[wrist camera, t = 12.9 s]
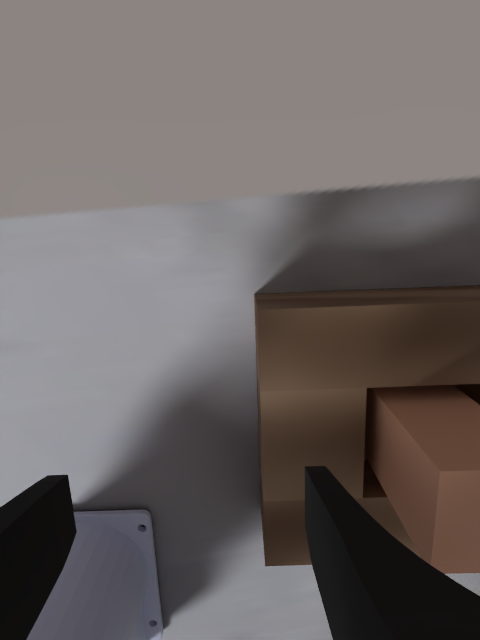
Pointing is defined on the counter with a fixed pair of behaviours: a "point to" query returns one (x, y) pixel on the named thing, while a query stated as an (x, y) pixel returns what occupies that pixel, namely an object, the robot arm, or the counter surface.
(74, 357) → the counter surface
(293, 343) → the socket block
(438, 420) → the peg
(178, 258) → the counter surface
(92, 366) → the counter surface
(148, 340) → the counter surface
